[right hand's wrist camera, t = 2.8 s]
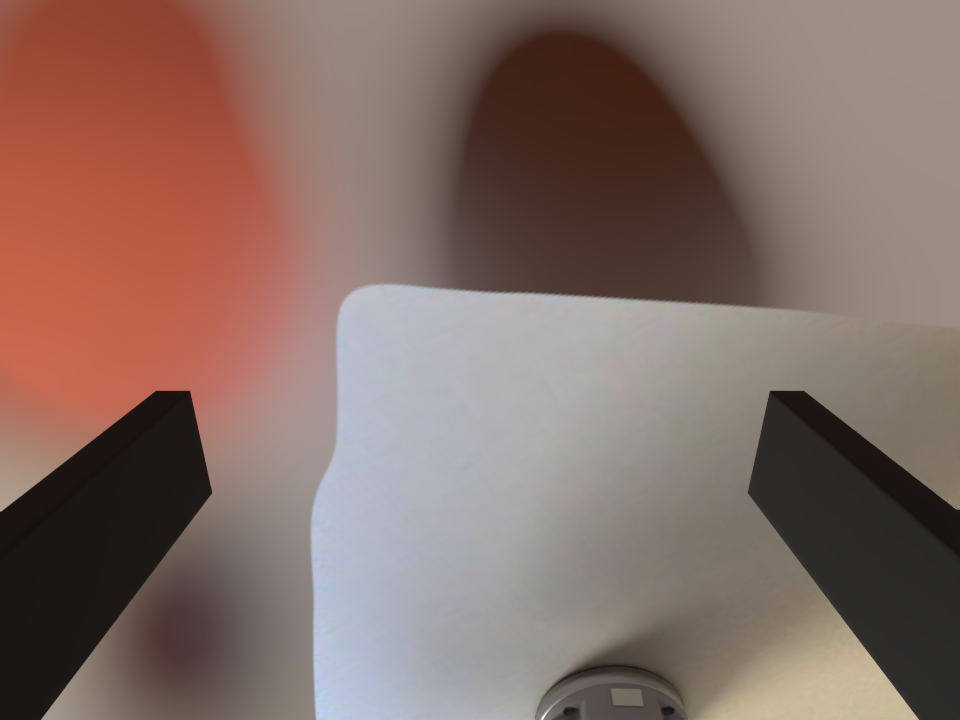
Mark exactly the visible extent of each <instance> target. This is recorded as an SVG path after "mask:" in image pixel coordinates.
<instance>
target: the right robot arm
mask: <svg viewBox="0 0 960 720" xmlns="http://www.w3.org/2000/svg"><path fill="white" fill-rule="evenodd" d="M211 494H212V490H211V485H210V481H209V476H208V471H207V467H206V462H205V458H204V453H203V448H202V444H201V439H200V435H199V430H198V425H197V421H196V417H195V412H194V407H193V402H192V398H191V393H190V391H155V392H154V393H153V394H152V395H150V396H149V397H148V398H146V399H145V400H144V401H143V402H141V403H140V404H139V405H138V406H136V407H135V408H134V409H132V410H131V411H130V412H129V413H127V414H126V415H125V416H123V417H122V418H121V419H120V420H118V421H117V422H116V423H114V424H113V425H112V426H111V427H109V428H108V429H107V430H105V431H104V432H103V433H102V434H100V435H99V436H98V437H96V438H95V439H94V440H93V441H91V442H90V443H89V444H87V445H86V446H85V447H84V448H82V449H81V450H80V451H78V452H77V453H76V454H75V455H73V456H72V457H71V458H69V459H68V460H67V461H66V462H64V463H63V464H62V465H61V466H59V467H58V468H57V469H55V470H54V471H53V472H52V473H50V474H49V475H48V476H46V477H45V478H44V479H43V480H41V481H40V482H39V483H37V484H36V485H35V486H34V487H32V488H31V489H30V490H29V491H27V492H26V493H25V494H23V495H22V496H21V497H19V498H18V499H17V500H16V501H14V502H13V503H12V504H10V505H9V506H8V507H7V508H5V509H4V510H3V511H2V512H0V720H41V719H42V718H43V716H44V715H45V714H46V712H47V711H48V710H49V708H50V707H51V705H52V704H53V703H54V702H55V700H56V699H57V698H58V696H59V695H60V694H61V692H62V691H63V690H64V688H65V687H66V686H67V684H68V683H69V682H70V680H71V679H72V678H73V676H74V675H75V674H76V672H77V671H78V670H79V668H80V667H81V666H82V665H83V663H84V662H85V661H86V659H87V658H88V657H89V655H90V654H91V653H92V651H93V650H94V649H95V647H96V646H97V645H98V643H99V642H100V641H101V639H102V638H103V637H104V635H105V634H106V633H107V631H108V630H109V629H110V627H111V626H112V625H113V624H114V622H115V621H116V620H117V618H118V617H119V616H120V614H121V613H122V612H123V610H124V609H125V608H126V606H127V605H128V604H129V602H130V601H131V600H132V598H133V597H134V596H135V594H136V593H137V592H138V590H139V589H140V588H141V586H142V585H143V584H144V582H145V581H146V580H147V579H148V577H149V576H150V574H151V573H152V572H153V571H154V569H155V568H156V567H157V565H158V564H159V563H160V561H161V560H162V559H163V557H164V556H165V555H166V553H167V552H168V551H169V549H170V548H171V547H172V545H173V544H174V543H175V541H176V540H177V539H178V537H179V536H180V535H181V534H182V532H183V531H184V529H185V528H186V527H187V525H188V524H189V523H190V522H191V520H192V519H193V518H194V516H195V515H196V514H197V512H198V511H199V510H200V508H201V507H202V506H203V504H204V503H205V502H206V500H207V499H208V498H209V496H210V495H211ZM748 494H749V495H750V496H751V498H752V499H753V500H754V502H755V503H756V504H757V506H758V507H759V508H760V510H761V511H762V512H763V514H764V515H765V516H766V518H767V519H768V520H769V522H770V523H771V524H772V526H773V527H774V528H775V530H776V531H777V532H778V534H779V535H780V536H781V538H782V539H783V540H784V541H785V543H786V544H787V545H788V547H789V548H790V549H791V551H792V552H793V553H794V555H795V556H796V557H797V559H798V560H799V561H800V563H801V564H802V565H803V567H804V568H805V569H806V571H807V572H808V573H809V575H810V576H811V577H812V579H813V580H814V581H815V583H816V584H817V585H818V586H819V588H820V589H821V590H822V592H823V593H824V594H825V596H826V597H827V598H828V600H829V601H830V602H831V604H832V605H833V606H834V608H835V609H836V610H837V612H838V613H839V614H840V616H841V617H842V618H843V620H844V621H845V622H846V624H847V625H848V626H849V628H850V629H851V630H852V631H853V633H854V634H855V635H856V637H857V638H858V639H859V641H860V642H861V643H862V645H863V646H864V647H865V649H866V650H867V651H868V653H869V654H870V655H871V657H872V658H873V659H874V661H875V662H876V663H877V665H878V666H879V667H880V669H881V670H882V671H883V673H884V674H885V675H886V676H887V678H888V679H889V680H890V682H891V683H892V684H893V686H894V687H895V688H896V690H897V691H898V692H899V694H900V695H901V696H902V698H903V699H904V700H905V702H906V703H907V704H908V706H909V707H910V708H911V710H912V711H913V712H914V714H915V715H916V716H917V718H918V719H919V720H960V510H956V509H955V508H953V507H952V506H951V505H950V504H948V503H947V502H946V501H944V500H943V499H942V498H941V497H939V496H938V495H937V494H935V493H934V492H933V491H932V490H930V489H929V488H928V487H926V486H925V485H924V484H923V483H921V482H920V481H919V480H917V479H916V478H915V477H914V476H912V475H911V474H910V473H908V472H907V471H906V470H905V469H903V468H902V467H901V466H899V465H898V464H897V463H896V462H894V461H893V460H892V459H891V458H889V457H888V456H887V455H885V454H884V453H883V452H882V451H880V450H879V449H878V448H876V447H875V446H874V445H873V444H871V443H870V442H869V441H867V440H866V439H865V438H864V437H862V436H861V435H860V434H858V433H857V432H856V431H855V430H853V429H852V428H851V427H849V426H848V425H847V424H846V423H844V422H843V421H842V420H840V419H839V418H838V417H837V416H835V415H834V414H833V413H832V412H830V411H829V410H828V409H826V408H825V407H824V406H823V405H821V404H820V403H819V402H817V401H816V400H815V399H814V398H812V397H811V396H810V395H808V394H807V393H806V392H805V391H770V393H769V398H768V402H767V407H766V412H765V416H764V421H763V425H762V430H761V435H760V439H759V444H758V448H757V453H756V458H755V462H754V467H753V471H752V476H751V481H750V485H749V490H748ZM535 720H688V719H687V716H686V713H685V710H684V707H683V704H682V702H681V699H680V697H679V695H678V694H677V692H676V691H675V689H674V688H673V687H672V686H671V685H670V684H669V683H668V682H666V681H665V680H663V679H662V678H660V677H658V676H657V675H654V674H652V673H650V672H647V671H644V670H640V669H636V668H630V667H601V668H595V669H591V670H587V671H583V672H580V673H577V674H575V675H573V676H570V677H568V678H567V679H565V680H563V681H561V682H560V683H558V684H557V685H556V686H554V687H553V688H552V689H551V690H550V691H549V692H548V693H547V694H546V695H545V697H544V698H543V699H542V701H541V703H540V704H539V706H538V709H537V712H536V717H535Z"/></svg>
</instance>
